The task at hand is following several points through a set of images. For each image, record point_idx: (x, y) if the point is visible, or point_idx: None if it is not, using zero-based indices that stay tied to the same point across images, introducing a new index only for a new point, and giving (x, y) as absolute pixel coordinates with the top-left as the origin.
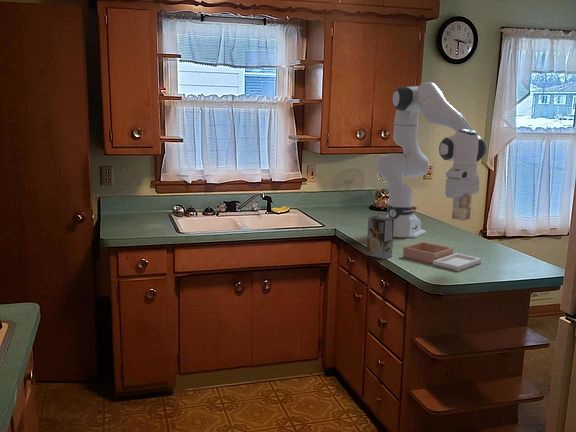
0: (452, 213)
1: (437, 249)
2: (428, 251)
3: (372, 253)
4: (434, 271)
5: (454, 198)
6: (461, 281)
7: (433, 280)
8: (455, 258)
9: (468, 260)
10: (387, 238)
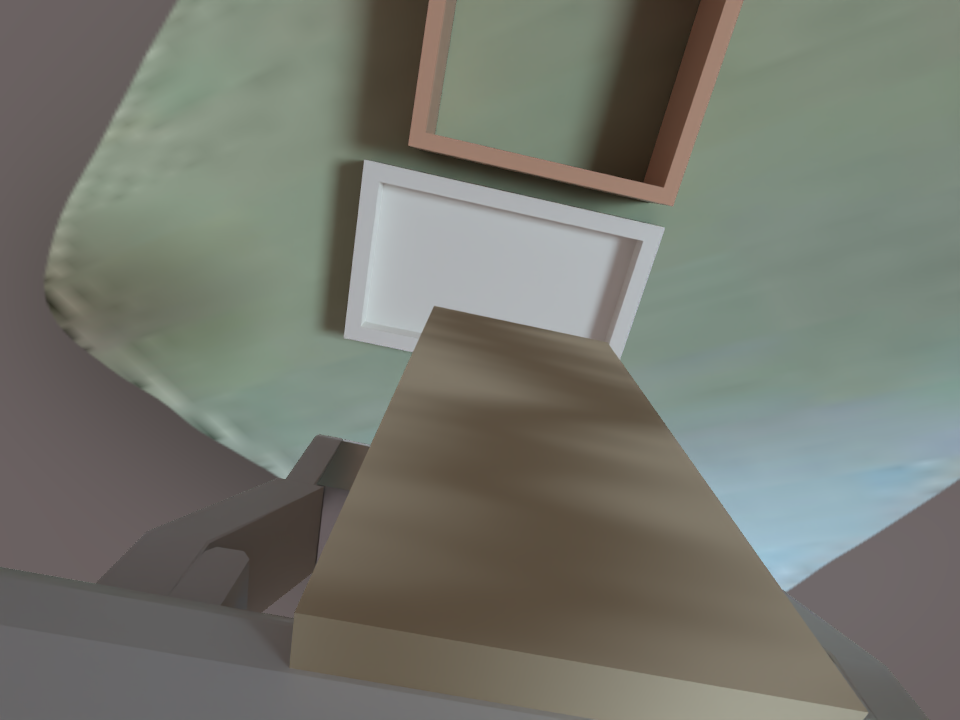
0: (425, 331)
1: (692, 67)
2: None
3: None
4: (258, 216)
5: (130, 580)
6: (198, 390)
7: (98, 272)
8: (586, 242)
9: (581, 323)
10: None
